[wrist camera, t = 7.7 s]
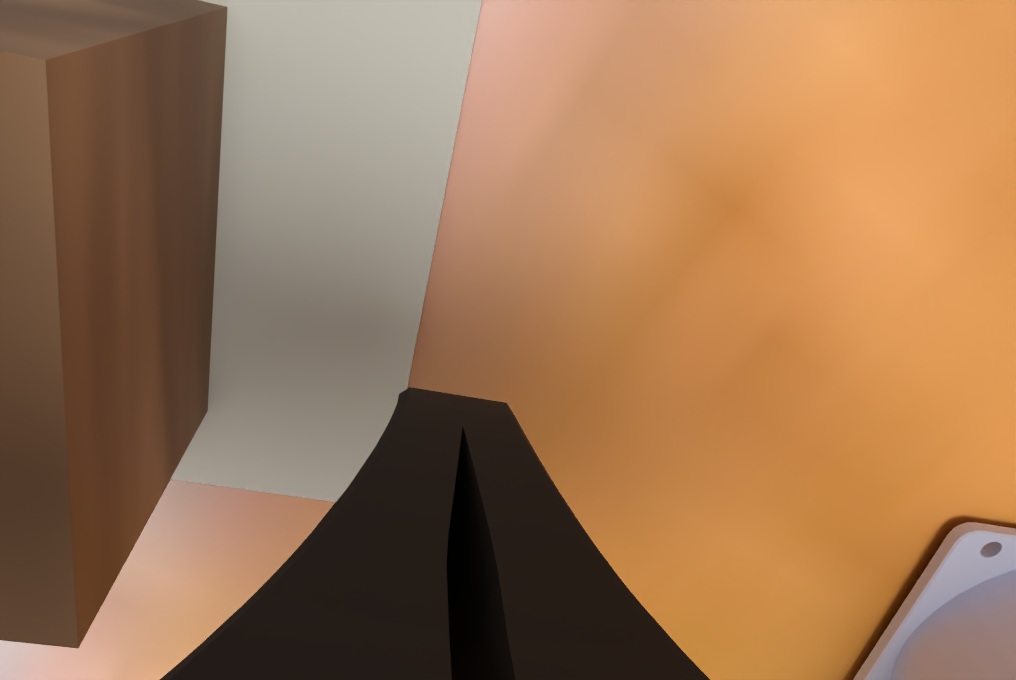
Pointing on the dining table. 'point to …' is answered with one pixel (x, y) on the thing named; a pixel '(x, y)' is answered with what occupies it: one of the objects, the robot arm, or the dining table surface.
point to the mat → (324, 231)
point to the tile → (100, 286)
